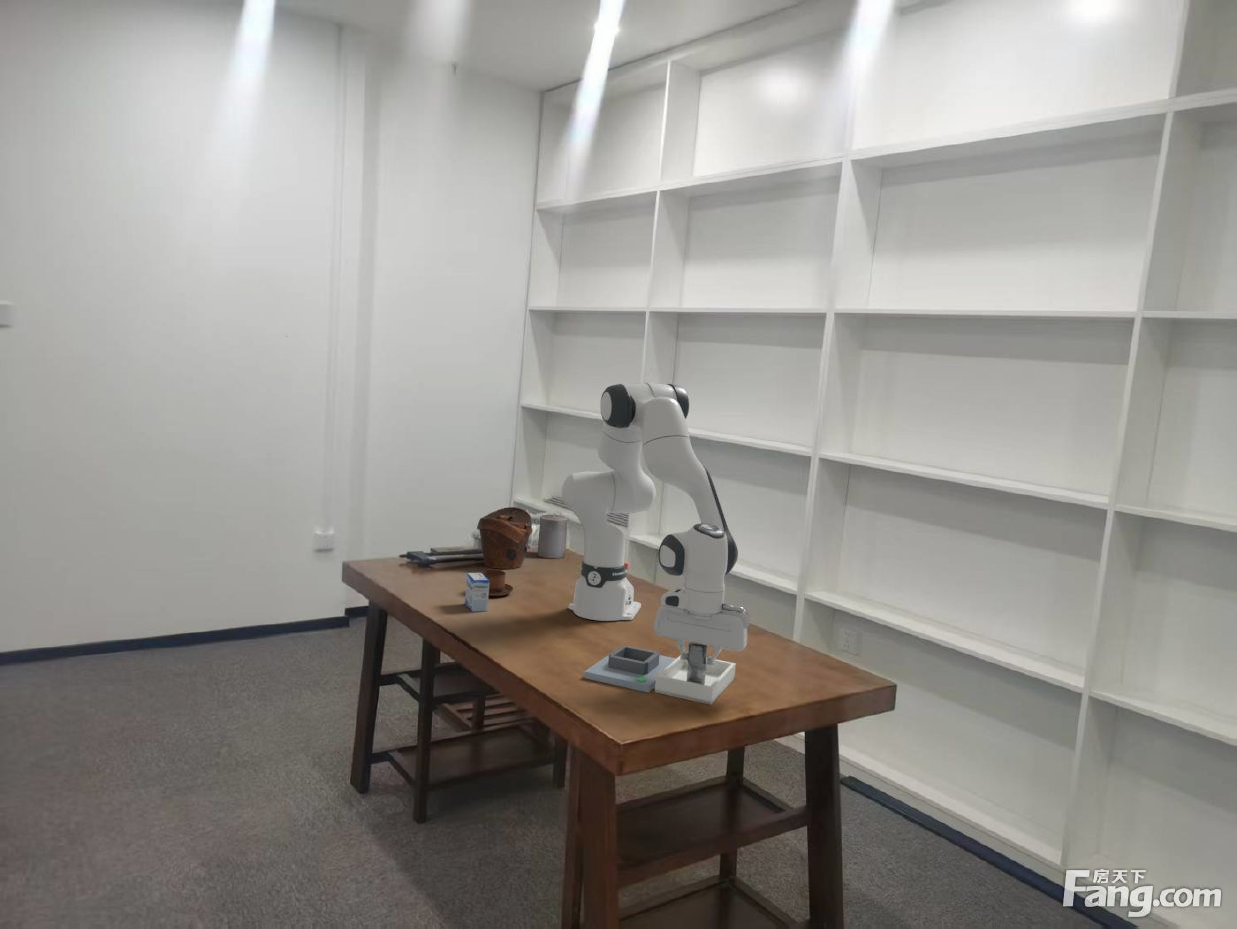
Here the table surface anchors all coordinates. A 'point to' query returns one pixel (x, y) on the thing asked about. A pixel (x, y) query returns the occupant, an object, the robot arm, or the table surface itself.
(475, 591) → the medicine box
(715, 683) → the tray
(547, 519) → the pillar candle
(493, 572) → the cup and saucer
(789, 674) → the table surface
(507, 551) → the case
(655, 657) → the tester cradle
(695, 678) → the cell
